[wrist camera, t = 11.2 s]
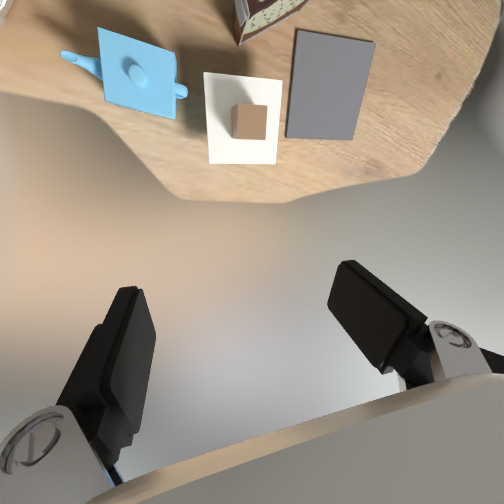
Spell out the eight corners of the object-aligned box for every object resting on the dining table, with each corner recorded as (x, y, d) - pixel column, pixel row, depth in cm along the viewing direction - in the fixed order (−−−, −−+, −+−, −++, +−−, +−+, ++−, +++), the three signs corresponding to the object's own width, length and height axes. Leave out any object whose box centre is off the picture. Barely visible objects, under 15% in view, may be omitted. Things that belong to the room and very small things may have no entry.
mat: (285, 137, 35) (286, 137, 35) (296, 31, 28) (298, 30, 28) (350, 140, 38) (352, 140, 38) (373, 44, 31) (376, 43, 31)
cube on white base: (203, 73, 25) (205, 60, 20) (280, 81, 27) (297, 71, 23) (209, 162, 30) (211, 168, 25) (273, 163, 32) (286, 168, 28)
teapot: (92, 99, 27) (61, 89, 21) (84, 38, 24) (46, 5, 18) (187, 122, 31) (185, 120, 24) (189, 71, 28) (188, 53, 22)
